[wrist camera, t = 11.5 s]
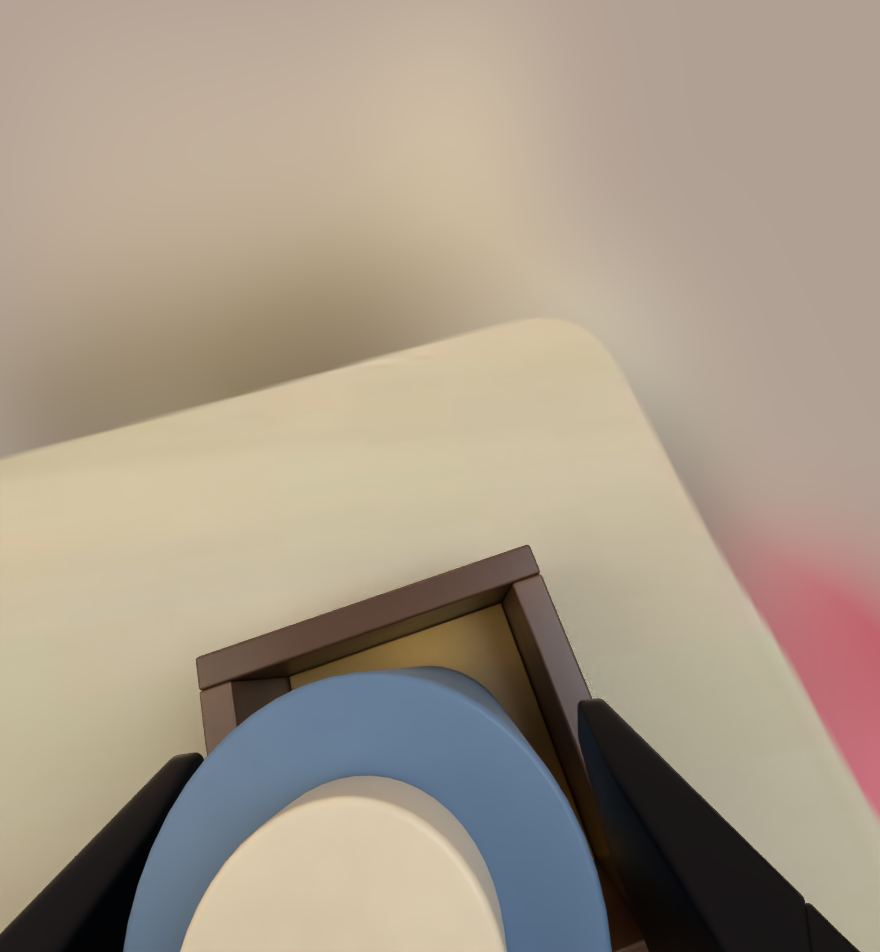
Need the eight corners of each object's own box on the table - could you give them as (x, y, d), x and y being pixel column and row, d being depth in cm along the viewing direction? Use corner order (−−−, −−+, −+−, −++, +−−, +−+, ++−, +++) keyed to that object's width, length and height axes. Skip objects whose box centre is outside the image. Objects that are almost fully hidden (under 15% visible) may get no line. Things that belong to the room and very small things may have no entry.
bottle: (523, 877, 13) (708, 1610, 3) (333, 866, 13) (-81, 1490, 3) (516, 668, 15) (615, 681, 5) (350, 663, 15) (125, 666, 5)
